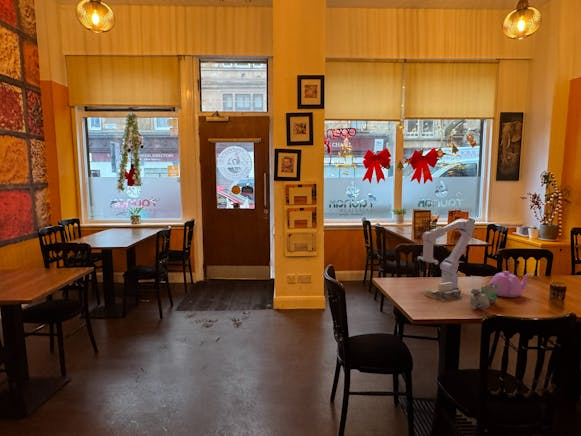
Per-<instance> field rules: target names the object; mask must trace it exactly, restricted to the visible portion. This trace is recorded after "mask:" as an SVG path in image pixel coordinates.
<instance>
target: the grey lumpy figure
mask: <svg viewBox="0 0 581 436" xmlns="http://www.w3.org/2000/svg"><path fill="white" fill-rule="evenodd" d="M470 293H471V296H470V300H469V304H470V305H471V306H472V307H474V308H477V309H479V310H485V309H487V308H489V307H490V306H491V305H490V304H489V299H488V297H487V296H486V295H485V294H482V290H481V289H479V288H477V287H476V288H472V289H471V290H470Z"/></svg>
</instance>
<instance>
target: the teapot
mask: <svg viewBox="0 0 581 436" xmlns="http://www.w3.org/2000/svg"><path fill="white" fill-rule="evenodd" d="M531 275H532V273H526V274H524V275H523V278H522V281H521V282H520V280H519V278H518V276H516V275H515V274H512V273H511V272H510V271H508V270H503V271H501V272H498V273H495V275H494V276H493V277H492V278H491V280H490V281H489V284H488V285H491V283H493V284H496V285H498V288H499V291H497V296H499V297H503V298H504V297H505V298H516V297H519V296H520V295H521V294H522V293H523V290H525V288H526V287H527V284H528V278H529V276H531Z"/></svg>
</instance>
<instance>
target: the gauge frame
mask: <svg viewBox="0 0 581 436" xmlns="http://www.w3.org/2000/svg"><path fill="white" fill-rule="evenodd" d="M433 292H438V290H434V291H432V290H430V289H429V290H425V291H424V295H425V296H427V297H430V298H433V299H435V300H441V301H444V302H445V301H450V300H454V299H460V298H462V296H461V292H462V291H461V290H460V289H458V288H454V289H452V290H450V291H444V292H442V293H441V294H439V293H435V294H433Z"/></svg>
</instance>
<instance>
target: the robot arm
mask: <svg viewBox="0 0 581 436" xmlns="http://www.w3.org/2000/svg"><path fill="white" fill-rule="evenodd" d="M475 228H476V225H475V223H474V221H473V220H471V219H466V218H465V219H464V218H458V219H456V220H454V221H453V222H450V223H449V224H447V225H445V226H436V228H434V229H430V230H429V231H425V232H423V234H422V236H421V239H422V240H423V242H422V243H423V245H422V246H423V249H422V251H423V252H422V256H419V255H418V256H417V261H416V263H417V264H418V267H419V270H420V273H424V272H425V268H426V267H425V266H426V263H428V265H429V275H430V276H434V275H435V272H436V269H437V268H438V266H439V268H440V270H441V283H446V282H452V290H455V289H459V285H458V284H459V276H458V274H457V273H458V271H459V270H458V267H459V266H460V263H459V259H460V258H461V256H462V255H463V253H464V251H465V249H467V245H468V244H469V243H470V240H471V239H472V237H473V235H474V234H473V232H474V230H475ZM455 229H458V230H459V232H460V234H461V236H460V237H459V239H458V241H457V242H456V244H455V246H454V248H453V249H452V251H451V253H450V254H449V256H448V257H446V258H445V259H444V260H443V261H442V262H440V264H439V260H437V259H435V258H434V242H435V241H436V239H439V238H441V237H443V236H445V235H446V234H447V233H448V232H451V231H453V230H455Z"/></svg>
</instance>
